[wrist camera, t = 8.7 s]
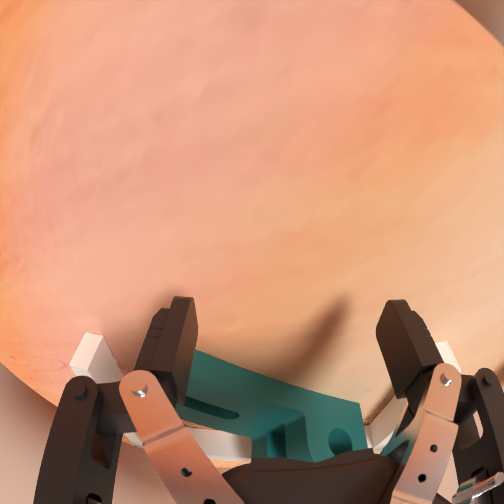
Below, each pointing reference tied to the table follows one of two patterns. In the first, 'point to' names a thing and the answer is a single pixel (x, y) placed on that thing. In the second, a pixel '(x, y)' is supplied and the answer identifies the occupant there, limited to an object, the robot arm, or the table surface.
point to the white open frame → (219, 442)
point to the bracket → (270, 412)
